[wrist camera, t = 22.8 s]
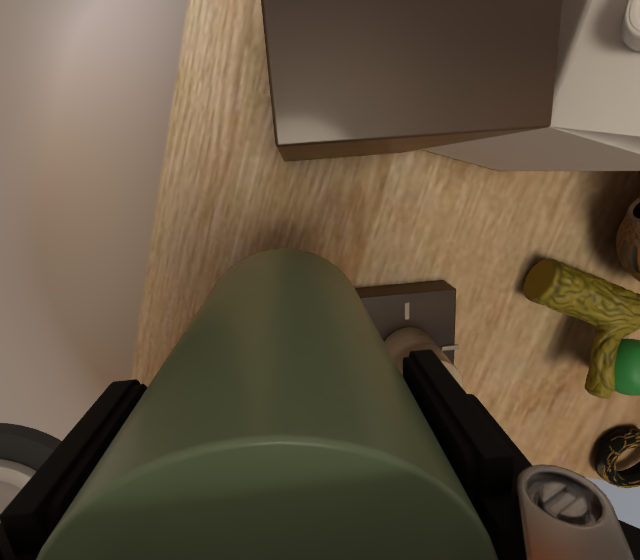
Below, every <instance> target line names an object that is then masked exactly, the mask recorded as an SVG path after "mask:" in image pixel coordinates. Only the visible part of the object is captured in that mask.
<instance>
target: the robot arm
mask: <svg viewBox="0 0 640 560" xmlns="http://www.w3.org/2000/svg"><path fill="white" fill-rule="evenodd" d="M403 378H404V380H405V382H406V383H407V385H408V387H409V389H410V391H411V393H412V394H413V396H414V398H415V400H416V402H417V404H418V406H419V407H420V409H421V411H422V413H423V415H424V417H425V418H426V420H427V422H428V424H429V426H430V428H431V429H432V431H433V433H434V435H435V437H436V439H437V440H438V442H439V444H440V446H441V448H442V450H443V451H444V453H445V455H446V457H447V459H448V461H449V462H450V464H451V466H452V468H453V470H454V472H455V473H456V475H457V477H458V479H459V481H460V483H461V485H462V486H463V488H464V490H465V492H466V494H467V496H468V497H469V499H470V501H471V503H472V505H473V507H474V508H475V510H476V512H477V514H478V516H479V518H480V519H481V521H482V523H483V525H484V527H485V529H486V530H487V532H488V534H489V536H490V539H491V541H492V544H493V547H494V549H495V552H496V554H497V557H498V560H640V529H639V528H636V527H634V526H632V525H629V524H627V523H625V522H622V521H620V520H618V518H617V516H616V513H615V511H614V508H613V506H612V504H611V502H610V501H609V499H608V498H607V496H606V495H605V494H604V493H603V492H602V491H601V490H600V489H599V488H598V487H597V486H596V485H595V484H593V483H592V482H591V481H589V480H588V479H586V478H585V477H584V476H582V475H580V474H577V473H575V472H573V471H571V470H569V469H565V468H562V467H558V466H554V465H543V464H541V465H534V466H532V465H531V463H530V462H529V461H528V460H527V459H526V457H525V456H524V455H523V454H522V452H521V451H520V450H519V449H518V448H517V446H516V445H515V444H514V443H513V441H512V440H511V439H510V438H509V437H508V435H507V434H506V433H505V432H504V430H503V429H502V428H501V427H500V426H499V424H498V423H497V422H496V421H495V419H494V418H493V417H492V416H491V415H490V413H489V412H488V411H487V410H486V408H485V407H484V406H483V405H482V404H481V402H480V401H479V400H478V399H477V398H476V397H475V396H474V395H472V394H466V392H465V391H464V390H463V388H462V387H461V386H460V385H459V383H458V382H457V381H456V380H455V378H454V377H453V376H452V374H451V373H450V372H449V371H448V369H447V368H446V367H445V366H444V364H443V363H442V362H441V361H440V359H439V358H438V357H437V355H436V354H435V353H434V352H433V350H431V349H427V350H418V351H410V353H409V357H404V358H403ZM146 389H147V387H146V385H144V384H141V385H140V382H139V381H138V380H127V381H117V382H113V383H111V384H110V385H109V386H108V388H107V389H106V390H105V391H104V392H103V394H102V395H101V396H100V397H99V398H98V400H97V401H96V402H95V403H94V404H93V405H92V407H91V408H90V409H89V410H88V411H87V412H86V414H85V415H84V416H83V417H82V419H81V420H80V421H79V422H78V423H77V424H76V426H75V427H74V428H73V429H72V430H71V431H70V433H69V434H68V435H67V436H66V437H65V439H64V440H63V441H62V442H61V443H60V444H59V446H58V447H57V448H56V449H55V450H54V451H53V453H52V454H51V455H50V456H49V457H48V459H47V460H46V461H45V462H44V463H43V464H42V466H41V467H40V468H39V469H38V470H37V471H36V470H34V469H32V468H30V467H28V466H26V465H23V464H20V463H17V462H13V461H9V460H4V459H0V560H36V559H37V557H38V555H39V553H40V551H41V548H42V547H43V545H44V544H45V542H46V541H47V539H48V538H49V536H50V535H51V533H52V532H53V530H54V529H55V527H56V526H57V524H58V523H59V521H60V520H61V518H62V517H63V515H64V514H65V512H66V511H67V509H68V508H69V506H70V504H71V503H72V501H73V500H74V498H75V497H76V495H77V494H78V492H79V491H80V489H81V488H82V486H83V485H84V483H85V482H86V480H87V479H88V477H89V476H90V474H91V473H92V471H93V470H94V468H95V467H96V465H97V464H98V462H99V461H100V459H101V458H102V456H103V455H104V453H105V451H106V450H107V448H108V447H109V445H110V444H111V442H112V441H113V439H114V438H115V436H116V435H117V433H118V432H119V430H120V429H121V427H122V426H123V424H124V423H125V421H126V420H127V418H128V417H129V415H130V414H131V412H132V411H133V409H134V408H135V406H136V405H137V403H138V402H139V400H140V399H141V397H142V395H143V394H144V392H145V391H146Z"/></svg>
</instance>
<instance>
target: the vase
mask: <svg viewBox="0 0 640 560" xmlns="http://www.w3.org/2000/svg"><path fill="white" fill-rule="evenodd" d="M616 249H617V254H618V257H619V259H620V261H621V263H622V265H623V266H624V268H625V269H626V270H627V271H628V272H629V273H630V274H631V275H632V276H633V277H634V278H635V279H637V280H638V281H639V282H640V197H639V198H638V199H636V200H635V201H634V202H633V203H632V204H631V205H630V206H629V208H628V211H627V216H626V217H625V218H624V220H623V221H622V223H621V224H620V226H619V229H618V231H617V235H616Z"/></svg>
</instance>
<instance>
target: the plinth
mask: <svg viewBox="0 0 640 560" xmlns="http://www.w3.org/2000/svg"><path fill="white" fill-rule="evenodd" d="M562 2H563V0H261V5H262V15H263V24H264V34H265V44H266V54H267V64H268V74H269V84H270V94H271V104H272V113H273V123H274V133H275V143H276V146H277V148H278V150H279V152H280V154H281V156H282V157H283V159H284V161H298V160H311V159H324V158H337V157H351V156H364V155H377V154H391V153H402V152H408V151H414V150H420V149H426V148H431V147H437V146H443V145H449V144H455V143H461V142H466V141H472V140H478V139H484V138H490V137H496V136H501V135H507V134H513V133H519V132H525V131H530V130H536V129H542V128H547V127H549V126H550V125H551V117H552V107H553V97H554V86H555V76H556V65H557V55H558V44H559V34H560V23H561V13H562Z"/></svg>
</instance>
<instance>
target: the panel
mask: <svg viewBox="0 0 640 560" xmlns="http://www.w3.org/2000/svg"><path fill="white" fill-rule="evenodd" d="M355 290H356V292H357V293H358V295H359V297H360V299H361V301H362V303H363V304H364V306H365V308H366V310H367V312H368V314H369V316H370V317H371V319H372V321H373V323H374V325H375V327H376V328H377V330H378V332H379V334H380V336H381V338H382V339H383V341H385V340H386V338H387V337H388V336H389V335H390V334H392V333H393V332H394V331H396V330H399V329H401V328H406V327H414V328H418V329H421V330H423V331H424V332H426V333H427V334H428V335H429V336H430V338H431V339H432V340H433V341H434V342H435V343H436V345H437V346H438V347H439V348H440V349H441V350H442V352H443V353H444V354H445V355H446V356H447V358H448V359H449V360H450V361H451V362H452V363H453V365H454V349H459V345H458V344H457V345H454V339H455V308H456V289H455V288H454V287H452V286H451V285H450V284H448V283H447V282H445V281H444V280H441V281H431V282H420V283H409V284H399V285H388V286H378V287H367V288H356V289H355Z"/></svg>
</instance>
